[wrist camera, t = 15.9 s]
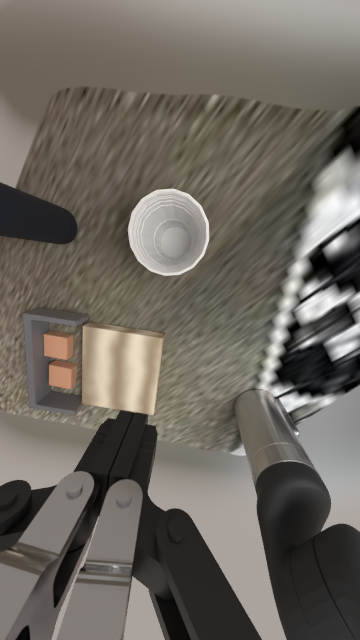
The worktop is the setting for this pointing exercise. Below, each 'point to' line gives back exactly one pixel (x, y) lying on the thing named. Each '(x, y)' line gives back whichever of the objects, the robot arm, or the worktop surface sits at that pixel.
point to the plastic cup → (168, 232)
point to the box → (46, 360)
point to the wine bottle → (34, 218)
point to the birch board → (121, 367)
